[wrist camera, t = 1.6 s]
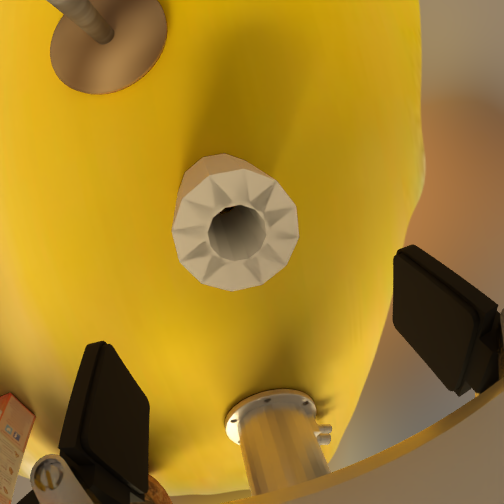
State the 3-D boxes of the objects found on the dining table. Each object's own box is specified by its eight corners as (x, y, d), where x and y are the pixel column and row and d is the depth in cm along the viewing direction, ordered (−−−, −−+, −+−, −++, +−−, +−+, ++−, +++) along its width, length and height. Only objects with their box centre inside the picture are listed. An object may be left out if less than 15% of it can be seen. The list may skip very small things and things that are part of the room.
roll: (273, 171, 27) (316, 196, 18) (243, 244, 29) (270, 301, 20) (195, 143, 25) (198, 152, 16) (168, 221, 27) (159, 271, 18)
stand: (186, 3, 20) (187, -74, 9) (139, 106, 23) (98, 91, 11) (84, -16, 17) (34, -79, 6) (39, 83, 20) (-44, 69, 8)
